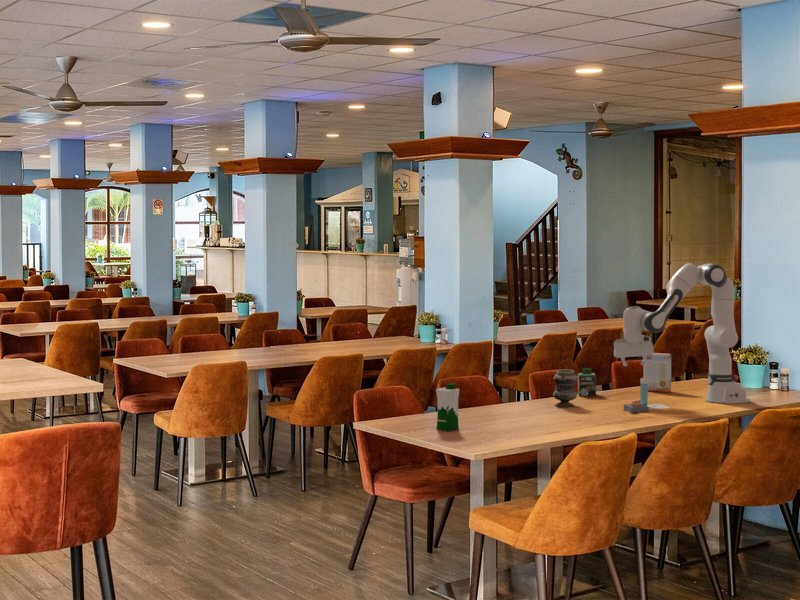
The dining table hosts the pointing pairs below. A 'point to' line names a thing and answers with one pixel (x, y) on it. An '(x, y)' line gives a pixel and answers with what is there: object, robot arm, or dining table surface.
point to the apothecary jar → (565, 387)
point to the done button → (636, 403)
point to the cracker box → (658, 372)
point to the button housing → (636, 408)
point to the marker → (644, 391)
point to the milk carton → (447, 407)
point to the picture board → (657, 406)
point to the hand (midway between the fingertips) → (634, 365)
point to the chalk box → (586, 383)
